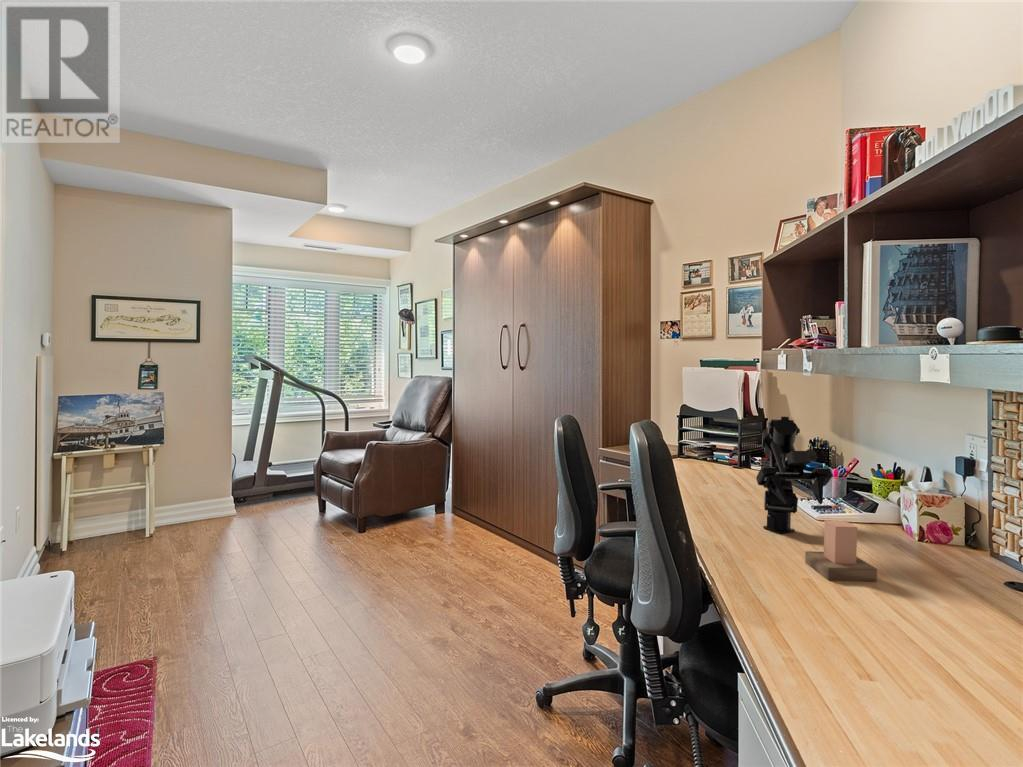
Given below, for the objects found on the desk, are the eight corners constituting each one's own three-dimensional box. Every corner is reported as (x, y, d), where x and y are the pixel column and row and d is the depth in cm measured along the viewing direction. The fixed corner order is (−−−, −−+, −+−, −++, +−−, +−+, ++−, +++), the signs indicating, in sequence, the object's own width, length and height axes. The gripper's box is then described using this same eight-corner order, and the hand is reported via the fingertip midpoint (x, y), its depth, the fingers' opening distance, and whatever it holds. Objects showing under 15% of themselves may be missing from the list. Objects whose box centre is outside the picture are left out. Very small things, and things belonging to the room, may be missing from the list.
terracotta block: (823, 555, 132) (824, 520, 132) (844, 556, 132) (845, 520, 132) (834, 563, 127) (835, 526, 127) (856, 563, 127) (857, 526, 127)
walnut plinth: (805, 562, 135) (805, 551, 135) (849, 563, 135) (849, 552, 135) (828, 580, 124) (828, 567, 124) (876, 581, 124) (877, 569, 124)
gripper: (761, 438, 147) (777, 486, 137) (830, 439, 146) (852, 487, 136) (749, 461, 156) (764, 508, 145) (815, 462, 154) (834, 509, 144)
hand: (803, 503), depth 142 cm, fingers open, 9 cm apart
